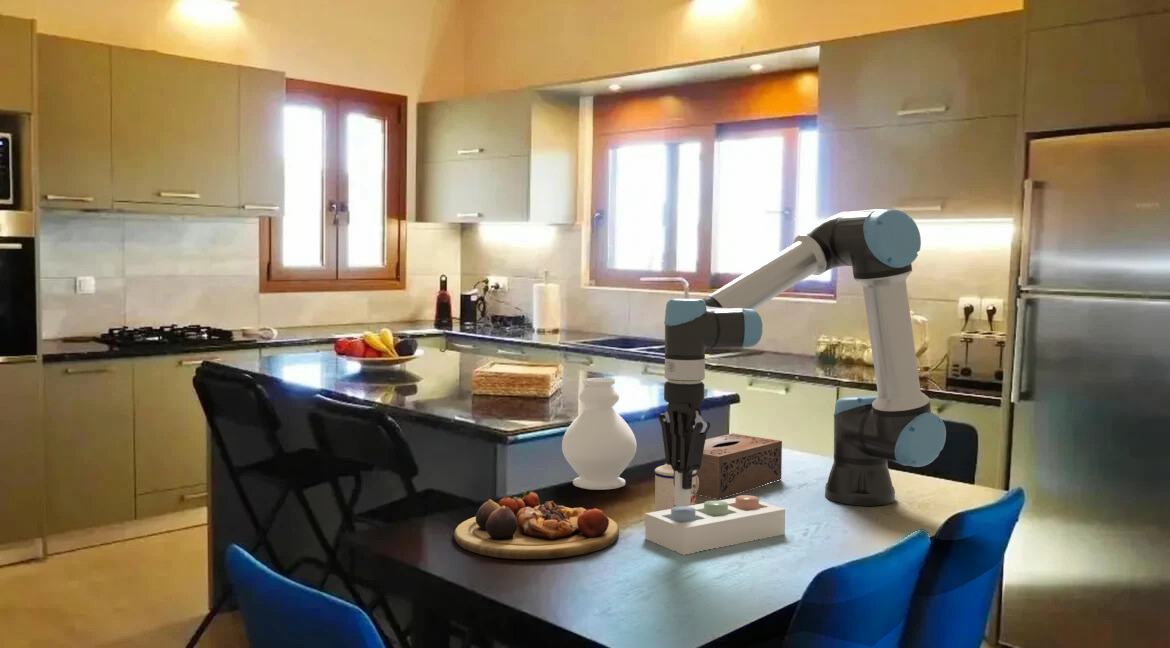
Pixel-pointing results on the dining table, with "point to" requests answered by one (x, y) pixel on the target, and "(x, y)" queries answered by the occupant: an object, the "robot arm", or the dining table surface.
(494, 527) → the wooden plate with food
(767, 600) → the dining table surface
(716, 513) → the button sage
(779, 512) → the tray
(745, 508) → the button terracotta
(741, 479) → the tissue box cover
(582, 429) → the decorative vase
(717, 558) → the dining table surface
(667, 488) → the teacup with lid
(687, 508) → the button slate
